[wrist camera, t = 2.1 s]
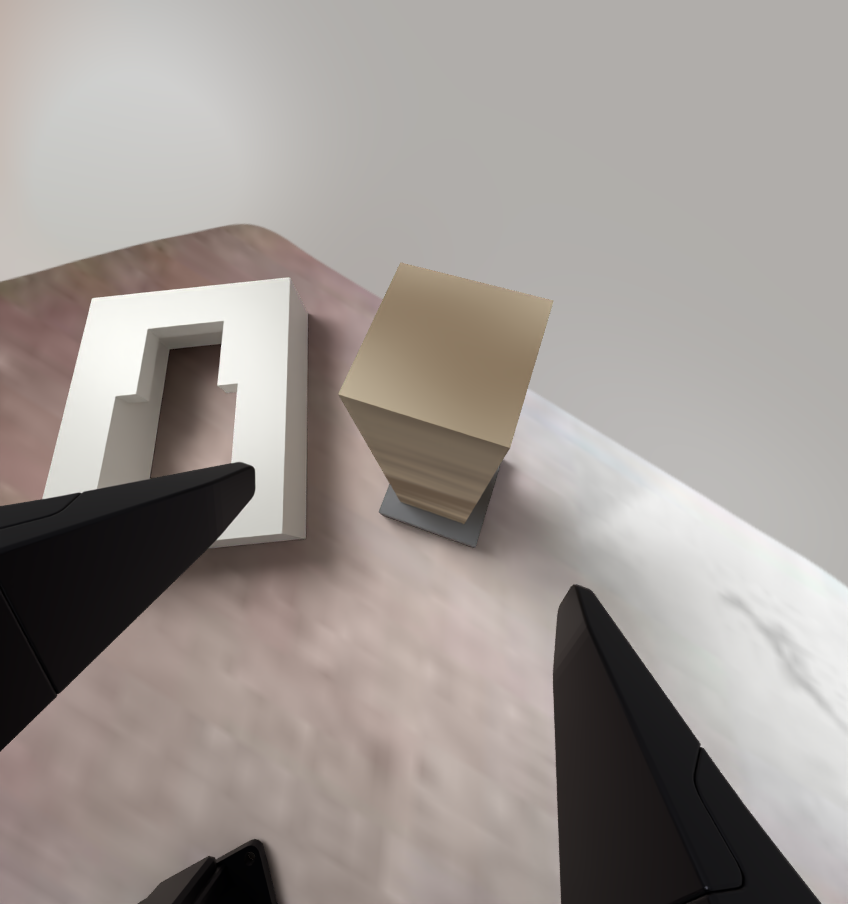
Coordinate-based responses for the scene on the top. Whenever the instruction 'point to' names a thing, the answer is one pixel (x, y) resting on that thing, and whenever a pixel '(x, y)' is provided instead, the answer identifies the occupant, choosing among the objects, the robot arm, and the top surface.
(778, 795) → the top surface
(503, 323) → the keyhole post
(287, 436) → the keyhole plate
